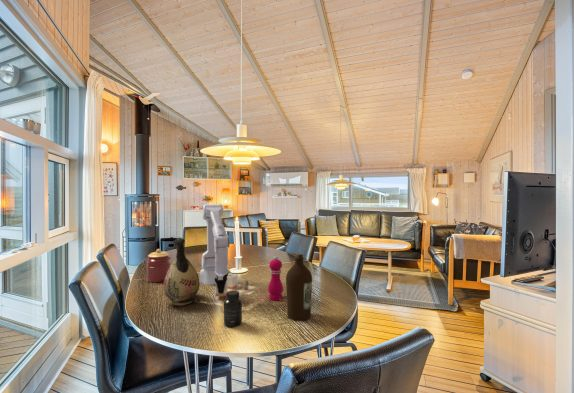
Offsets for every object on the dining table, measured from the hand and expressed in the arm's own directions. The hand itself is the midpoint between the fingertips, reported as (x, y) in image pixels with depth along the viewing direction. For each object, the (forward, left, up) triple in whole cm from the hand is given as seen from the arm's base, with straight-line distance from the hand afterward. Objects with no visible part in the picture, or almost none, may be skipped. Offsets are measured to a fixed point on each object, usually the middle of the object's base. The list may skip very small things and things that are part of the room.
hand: (221, 291), depth 136 cm
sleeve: (0, 0, -1) cm, 1 cm away
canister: (-53, +15, -5) cm, 55 cm away
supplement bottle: (+18, -19, -5) cm, 27 cm away
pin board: (0, +14, -4) cm, 15 cm away
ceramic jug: (-15, -9, -5) cm, 18 cm away
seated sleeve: (-4, +14, -3) cm, 15 cm away
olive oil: (+39, -3, -5) cm, 39 cm away
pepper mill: (+22, +12, -5) cm, 26 cm away
